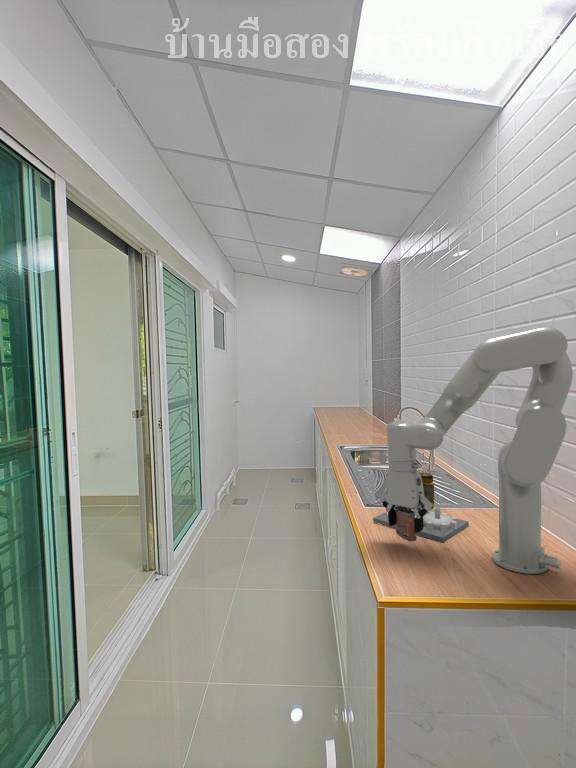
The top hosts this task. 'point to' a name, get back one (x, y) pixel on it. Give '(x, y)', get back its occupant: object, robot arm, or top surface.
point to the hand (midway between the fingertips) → (405, 527)
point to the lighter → (405, 523)
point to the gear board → (428, 532)
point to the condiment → (428, 488)
